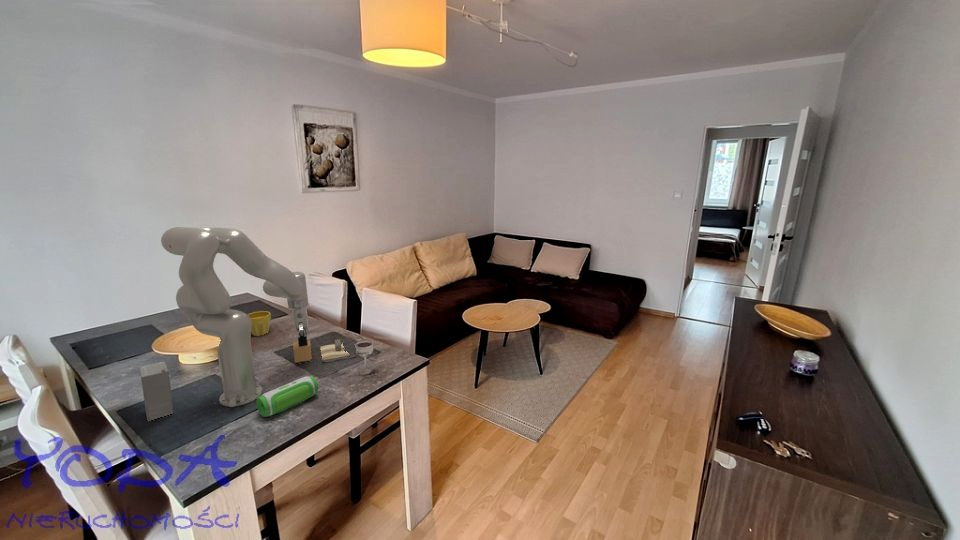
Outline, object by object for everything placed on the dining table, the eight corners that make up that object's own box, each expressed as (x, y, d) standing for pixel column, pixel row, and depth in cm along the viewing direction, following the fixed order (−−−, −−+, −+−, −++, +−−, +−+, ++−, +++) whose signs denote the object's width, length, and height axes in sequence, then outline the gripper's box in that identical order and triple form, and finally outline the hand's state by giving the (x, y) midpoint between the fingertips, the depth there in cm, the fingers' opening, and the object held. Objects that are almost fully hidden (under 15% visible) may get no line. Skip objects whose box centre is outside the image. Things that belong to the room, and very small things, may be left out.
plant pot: (251, 330, 183) (248, 311, 181) (274, 328, 186) (272, 310, 184) (245, 338, 174) (242, 319, 171) (270, 336, 177) (267, 317, 174)
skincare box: (145, 411, 120) (135, 366, 116) (173, 402, 125) (165, 359, 121) (147, 423, 114) (137, 377, 110) (177, 413, 119) (168, 369, 115)
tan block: (312, 361, 154) (310, 345, 153) (294, 364, 152) (293, 348, 150) (311, 354, 160) (309, 339, 158) (294, 357, 157) (293, 342, 155)
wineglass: (369, 377, 143) (368, 348, 140) (353, 374, 144) (351, 346, 142) (377, 368, 150) (376, 341, 147) (362, 366, 151) (360, 339, 148)
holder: (357, 357, 159) (357, 344, 157) (322, 363, 153) (321, 350, 151) (353, 344, 171) (352, 331, 170) (320, 349, 165) (319, 337, 163)
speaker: (309, 390, 134) (307, 371, 132) (320, 397, 130) (318, 378, 128) (257, 413, 120) (254, 392, 118) (267, 422, 116) (264, 401, 114)
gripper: (309, 308, 144) (313, 348, 149) (307, 294, 159) (311, 331, 164) (287, 311, 141) (293, 351, 146) (287, 297, 156) (292, 334, 160)
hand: (303, 340), depth 155 cm, fingers open, 9 cm apart
